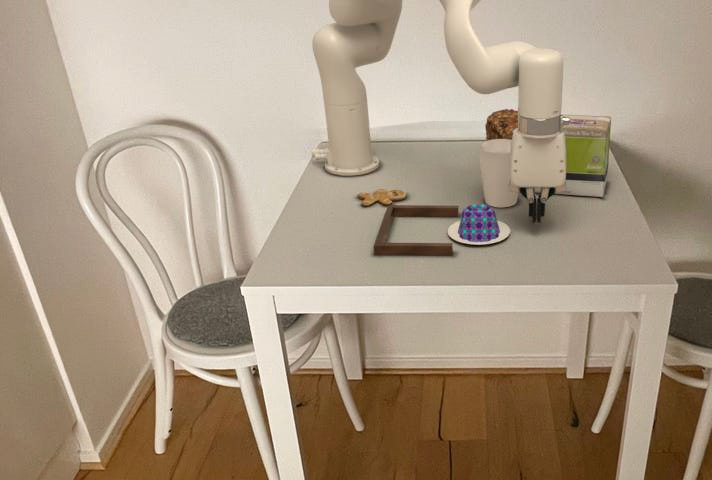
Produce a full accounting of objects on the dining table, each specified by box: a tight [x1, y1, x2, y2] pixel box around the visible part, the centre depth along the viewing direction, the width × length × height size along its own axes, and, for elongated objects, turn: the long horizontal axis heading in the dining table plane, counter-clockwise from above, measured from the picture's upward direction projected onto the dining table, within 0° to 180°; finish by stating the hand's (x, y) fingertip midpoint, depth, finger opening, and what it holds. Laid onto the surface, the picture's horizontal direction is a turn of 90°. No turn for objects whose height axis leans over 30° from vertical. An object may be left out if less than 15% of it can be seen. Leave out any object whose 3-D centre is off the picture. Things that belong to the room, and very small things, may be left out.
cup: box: [478, 139, 519, 209], centre depth 155 cm, size 9×9×12 cm
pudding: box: [447, 203, 511, 245], centre depth 144 cm, size 12×12×5 cm
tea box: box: [533, 114, 612, 198], centre depth 161 cm, size 15×10×15 cm
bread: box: [484, 108, 518, 141], centre depth 178 cm, size 19×11×10 cm, turn 20°
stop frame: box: [373, 204, 460, 257], centre depth 145 cm, size 14×18×2 cm
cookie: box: [357, 188, 407, 207], centre depth 160 cm, size 8×1×10 cm
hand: (536, 219), depth 143 cm, fingers closed
